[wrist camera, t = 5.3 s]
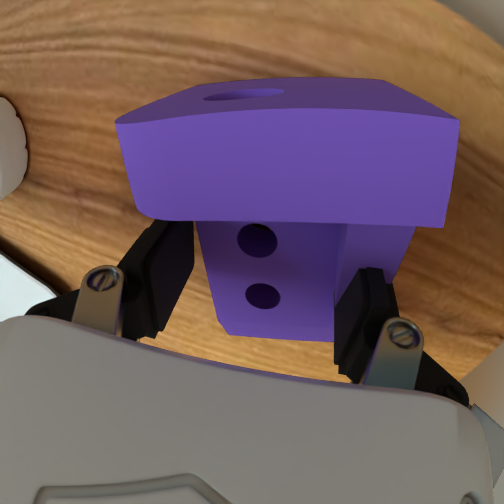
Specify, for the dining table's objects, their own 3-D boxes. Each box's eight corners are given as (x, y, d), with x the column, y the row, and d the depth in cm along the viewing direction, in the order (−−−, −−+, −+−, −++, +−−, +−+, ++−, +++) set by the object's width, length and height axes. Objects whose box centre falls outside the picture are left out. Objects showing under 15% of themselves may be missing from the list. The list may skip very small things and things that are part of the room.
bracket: (197, 85, 11) (83, 134, 5) (382, 80, 9) (459, 119, 4) (235, 313, 18) (200, 423, 12) (359, 320, 16) (361, 439, 11)
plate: (-20, 325, 31) (-26, 332, 30) (-59, 187, 17) (-70, 196, 16) (117, 416, 34) (113, 425, 33) (148, 327, 20) (140, 343, 19)
